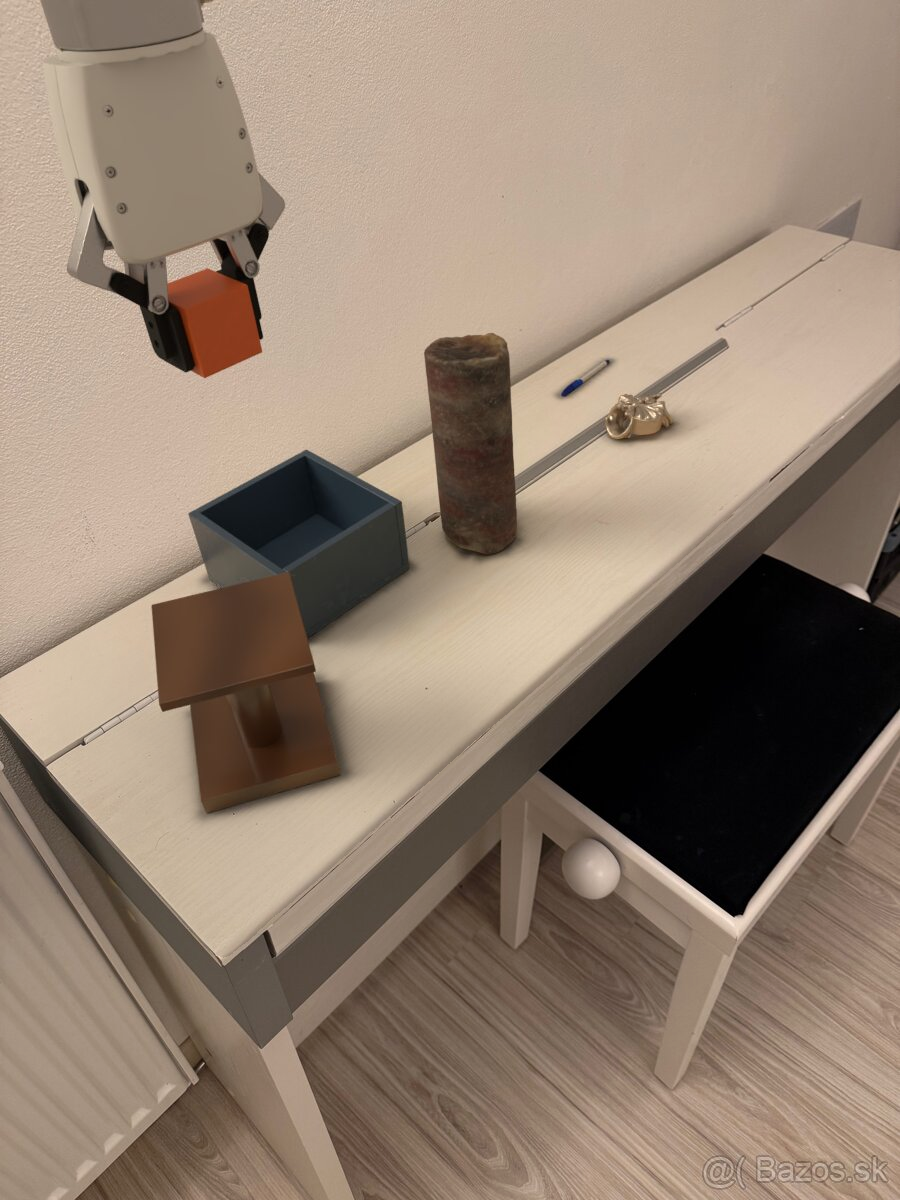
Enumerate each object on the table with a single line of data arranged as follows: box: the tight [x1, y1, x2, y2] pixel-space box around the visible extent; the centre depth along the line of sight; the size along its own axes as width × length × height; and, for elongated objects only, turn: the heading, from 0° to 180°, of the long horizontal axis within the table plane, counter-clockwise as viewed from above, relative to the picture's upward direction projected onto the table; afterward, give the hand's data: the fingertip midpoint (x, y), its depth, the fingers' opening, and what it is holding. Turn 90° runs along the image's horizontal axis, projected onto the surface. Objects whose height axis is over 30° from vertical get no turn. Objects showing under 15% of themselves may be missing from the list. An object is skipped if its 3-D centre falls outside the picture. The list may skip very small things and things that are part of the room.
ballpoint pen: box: [560, 359, 610, 398], centre depth 107 cm, size 10×1×1 cm, turn 142°
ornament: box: [604, 392, 675, 440], centre depth 96 cm, size 8×7×4 cm
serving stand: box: [151, 572, 341, 814], centre depth 63 cm, size 10×10×12 cm
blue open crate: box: [187, 449, 411, 639], centre depth 79 cm, size 14×14×8 cm
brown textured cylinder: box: [423, 332, 518, 555], centre depth 78 cm, size 8×7×20 cm
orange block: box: [167, 268, 263, 379], centre depth 55 cm, size 4×4×4 cm
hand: (212, 347), depth 56 cm, fingers closed on orange block, 4 cm apart
